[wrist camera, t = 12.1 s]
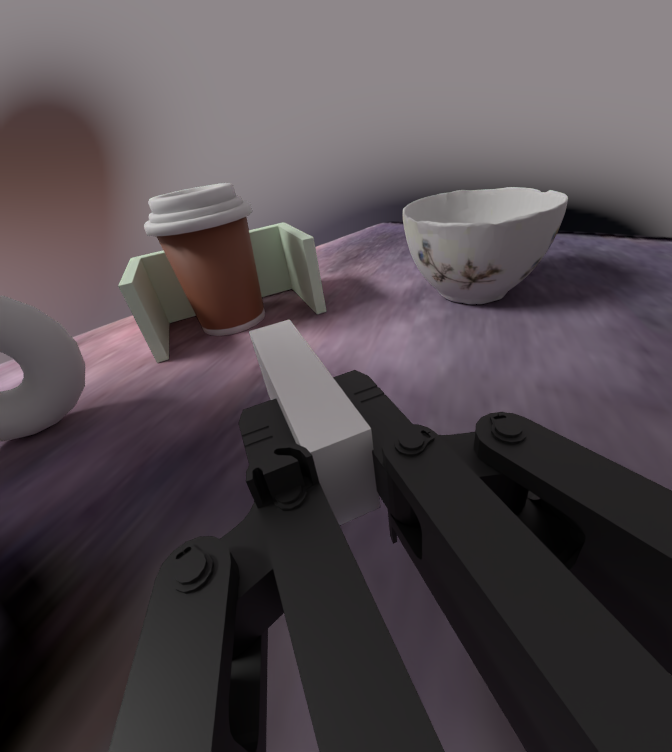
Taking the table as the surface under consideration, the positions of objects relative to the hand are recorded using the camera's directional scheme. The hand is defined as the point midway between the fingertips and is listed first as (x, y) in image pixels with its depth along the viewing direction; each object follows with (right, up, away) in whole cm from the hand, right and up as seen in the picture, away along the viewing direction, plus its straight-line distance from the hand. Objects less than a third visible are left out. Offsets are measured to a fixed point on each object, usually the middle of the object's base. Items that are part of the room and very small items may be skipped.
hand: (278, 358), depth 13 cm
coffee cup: (-8, +5, +23) cm, 25 cm away
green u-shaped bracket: (-8, +5, +24) cm, 26 cm away
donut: (-19, -5, +12) cm, 23 cm away
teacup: (+16, +8, +21) cm, 27 cm away
